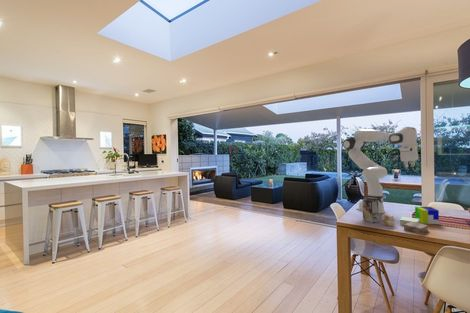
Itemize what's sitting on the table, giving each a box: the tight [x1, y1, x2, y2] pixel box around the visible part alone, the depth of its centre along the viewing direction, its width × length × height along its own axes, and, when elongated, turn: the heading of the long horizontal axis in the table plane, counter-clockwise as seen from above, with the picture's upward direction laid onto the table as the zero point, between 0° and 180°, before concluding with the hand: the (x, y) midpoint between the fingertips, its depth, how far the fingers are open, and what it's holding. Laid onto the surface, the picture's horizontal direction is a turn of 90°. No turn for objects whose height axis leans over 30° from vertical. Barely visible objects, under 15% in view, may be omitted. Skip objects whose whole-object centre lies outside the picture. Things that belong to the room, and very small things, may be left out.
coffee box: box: [362, 198, 379, 224], centre depth 181 cm, size 9×6×16 cm
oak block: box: [381, 213, 394, 227], centre depth 171 cm, size 5×5×7 cm
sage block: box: [399, 216, 421, 226], centre depth 170 cm, size 10×10×4 cm
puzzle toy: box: [414, 206, 440, 225], centre depth 174 cm, size 10×10×10 cm
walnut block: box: [403, 222, 429, 235], centre depth 158 cm, size 10×10×4 cm
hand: (409, 166), depth 176 cm, fingers open, 8 cm apart
